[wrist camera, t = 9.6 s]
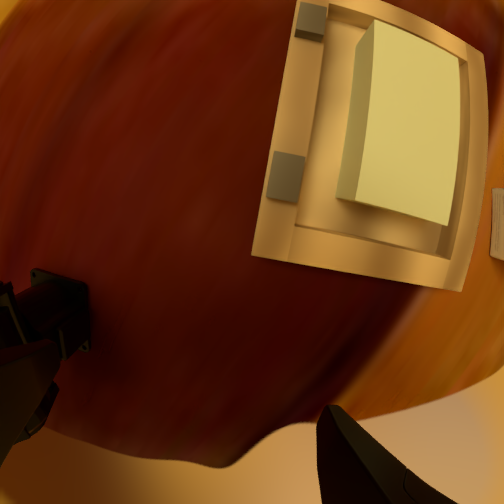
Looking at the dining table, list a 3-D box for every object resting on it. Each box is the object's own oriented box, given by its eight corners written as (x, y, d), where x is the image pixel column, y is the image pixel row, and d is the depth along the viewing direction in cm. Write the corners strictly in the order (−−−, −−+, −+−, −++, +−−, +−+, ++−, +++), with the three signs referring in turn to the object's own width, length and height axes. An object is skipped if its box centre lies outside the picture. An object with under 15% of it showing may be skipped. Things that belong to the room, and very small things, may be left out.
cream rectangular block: (334, 197, 17) (354, 200, 13) (355, 46, 15) (374, 19, 11) (414, 218, 17) (447, 226, 13) (429, 75, 15) (458, 58, 11)
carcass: (252, 244, 19) (250, 259, 15) (296, 0, 15) (302, -30, 11) (440, 279, 19) (468, 296, 15) (463, 64, 15) (490, 50, 11)
